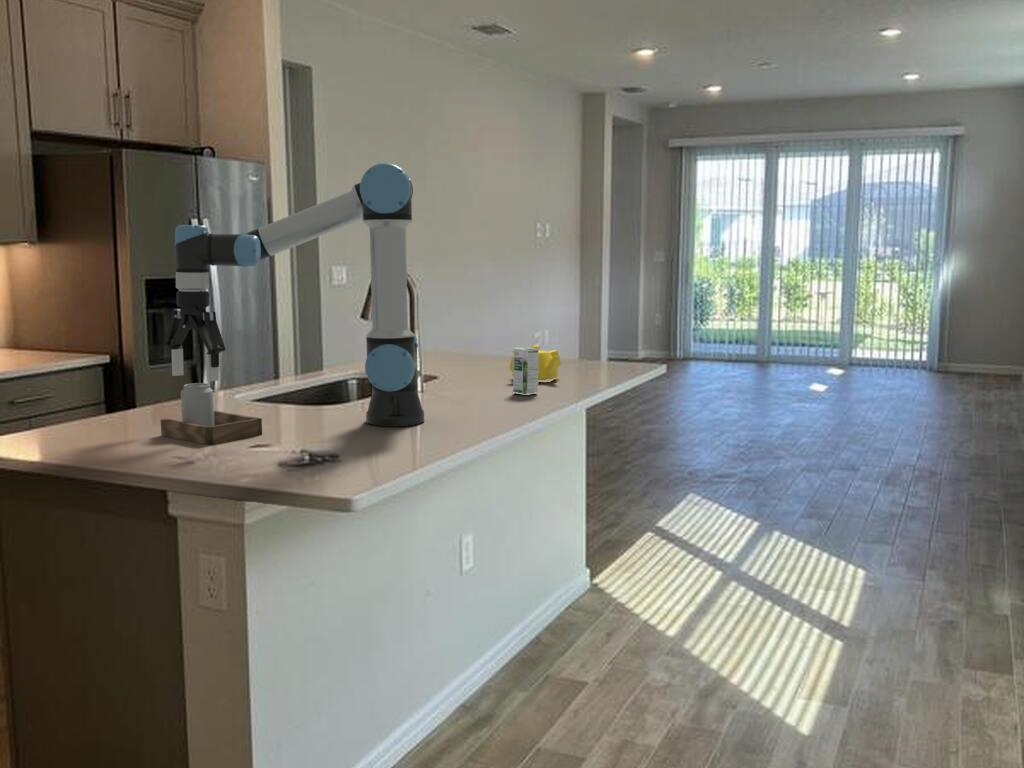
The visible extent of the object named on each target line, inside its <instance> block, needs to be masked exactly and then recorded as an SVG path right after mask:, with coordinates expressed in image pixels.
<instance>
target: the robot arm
mask: <svg viewBox="0 0 1024 768" xmlns="http://www.w3.org/2000/svg"><path fill="white" fill-rule="evenodd" d="M351 188H352V189H351V190H350V191H347V192H344V193H342V194H340V195H338V196H335V197H332V198H330V199H328V200H325V201H323V202H320V203H318V204H315V205H313V206H310V207H308V208H305V209H302V210H300V211H298V212H296V213H293V214H291V215H288V216H285V217H283V218H280V219H278V220H276V221H274V222H272V223H268V224H265V225H264V226H261V227H259V228H256V229H253V230H251V231H248V232H246V233H237V234H234V233H231V234H229V233H227V234H226V233H219V234H217V233H216V234H215V233H210V232H209V228H208V226H207V225H202V224H200V225H197V224H178V225H177V226H176V227H175V229H174V230H175V231H174V233H175V234H174V243H173V244H174V255H175V257H174V259H175V288H176V289H178V290H177V292H176V294H175V296H176V305H177V307H179V308H173V309H171V318H170V322H169V326H168V330H167V332H166V333H167V334H166V336H165V340H164V346H166V347H167V346H168V348H169V349H170V356H171V357H170V360H171V374H172V377H178V376H184V375H185V373H184V371H185V370H184V348H183V343H184V342H185V339H186V337H187V335H188V334H189V331H190V330H195V331H196V332H197V333H198V334H199V336H200V338H201V340H202V342H203V344H204V346H205V348H206V350H207V352H206V381H207V382H216V381H217V382H218V381H220V380H219V367H220V353H222V352H226V346H225V343H224V339H223V337H222V334H221V331H220V329H219V324H218V322H217V314H216V312H215V311H207V308H208V307H209V306H210V304H211V303H210V292H209V291H207V290H208V289H209V288H210V282H209V281H210V280H209V277H210V276H209V272H210V271H209V269H210V266H211V267H212V266H214V267H215V266H221V267H222V266H223V267H224V266H225V267H242V268H247V267H256V266H258V265H259V264H260V261H263V260H265V259H267V258H270V257H272V256H274V255H277V254H279V253H282V252H284V251H287V250H289V249H292V248H294V247H297V246H299V245H302V244H304V243H307V242H310V241H312V240H314V239H318V238H319V237H322V236H324V235H327V234H329V233H331V232H334V231H337V230H339V229H342V228H345V227H348V226H349V225H352V224H354V223H357V222H359V221H363V223H364V224H365V225H366V227H368V228H369V246H370V247H369V248H370V250H369V255H370V287H371V290H370V291H371V292H370V293H371V321H372V323H371V324H372V328H371V330H370V331H369V332H368V333H367V334H366V339H365V340H366V341H365V342H366V359H365V363H364V371H365V375H366V377H367V379H368V381H369V382H370V383H371V385H372V387H371V388H372V389H371V390H372V393H371V396H370V401H369V404H368V409H367V411H366V412H365V421H366V422H367V423H366V424H368V423H369V425H371V424H372V426H376V425H377V427H409V426H408V425H410V426H415V424H416V425H420V424H423V423H424V422H425V412H424V410H423V408H422V404H421V399H420V397H419V392H418V347H419V344H418V338H417V336H416V335H415V333H413V332H412V331H411V329H409V323H408V321H409V320H408V319H409V317H408V315H409V314H408V311H409V310H408V277H407V276H408V275H407V273H408V272H407V271H408V270H407V265H408V264H407V233H406V232H407V227H408V226H409V225H410V224H411V223H412V222H413V215H412V214H413V211H412V206H413V205H412V199H413V194H414V188H413V183H412V181H411V178H410V176H409V175H408V173H407V172H406V171H405V169H403V168H402V167H401V166H400V165H397V164H395V163H392V162H391V163H390V162H383V163H382V162H380V163H377V164H375V165H372V166H371V167H369V168H368V169H367V170H366V171H365V172H364V173H363V175H362V177H361V180H360V182H358V183H355V184H353V185H352V187H351ZM422 422H423V423H422ZM419 423H420V424H419Z"/></svg>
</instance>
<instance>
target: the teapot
mask: <svg viewBox="0 0 1024 768" xmlns="http://www.w3.org/2000/svg"><path fill="white" fill-rule="evenodd" d="M530 348H535V349H538V380H546V379H553V378H556V377H557V378H558V376H559V373H558V369H559V367H560V366H561V364H562V363H561V359H560V357H561V356H560V355H559V353H558V350H557V349H552V350H540V346H539V345H532V346H530ZM513 364H514V350H512V355H511V359H510V363H509V370H510V371H511V372H512V373H511V375H512V376H513ZM557 378H556V379H557Z"/></svg>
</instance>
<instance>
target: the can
mask: <svg viewBox="0 0 1024 768" xmlns="http://www.w3.org/2000/svg"><path fill="white" fill-rule="evenodd" d="M214 400H215V399H214V390H213V389H212V388H211V384H210V383H205V382H201V383H200V382H195V383H187V384H183V389H182V390H181V391H180V403H181V404H180V405H181V421H182V422H187V423H192V424H198V425H203V426H209V427H210V426H215V424H214V411H215V404H214Z"/></svg>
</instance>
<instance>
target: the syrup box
mask: <svg viewBox="0 0 1024 768" xmlns="http://www.w3.org/2000/svg"><path fill="white" fill-rule="evenodd" d="M513 351H514V364H513V375H512V379H513V380H512V381H513V382H512V393H513V392H518V393H523V394H527V393H534V392H538V390H539V383H538V349H535V348H531V347H527V346H524V347H523V346H519V347H518V346H517V347H514V348H513ZM538 393H539V392H538Z"/></svg>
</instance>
